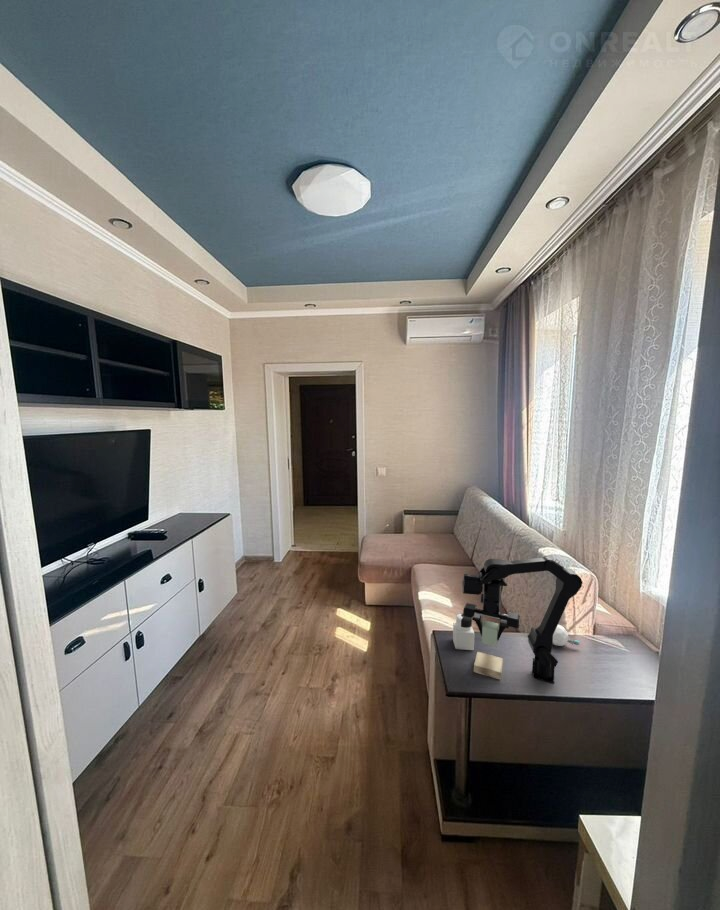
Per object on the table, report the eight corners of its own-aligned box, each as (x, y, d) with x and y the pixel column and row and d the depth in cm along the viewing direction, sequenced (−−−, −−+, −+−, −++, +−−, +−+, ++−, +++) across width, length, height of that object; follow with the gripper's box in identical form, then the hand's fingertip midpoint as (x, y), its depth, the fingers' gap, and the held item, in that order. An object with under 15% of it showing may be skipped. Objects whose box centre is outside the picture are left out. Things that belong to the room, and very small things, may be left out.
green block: (497, 639, 133) (498, 623, 133) (496, 646, 129) (497, 630, 129) (483, 636, 136) (484, 620, 135) (481, 642, 131) (482, 626, 131)
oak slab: (502, 666, 135) (503, 658, 135) (500, 680, 127) (500, 672, 127) (477, 659, 139) (477, 651, 139) (473, 673, 131) (474, 664, 130)
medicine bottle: (470, 640, 151) (471, 612, 150) (473, 650, 144) (475, 621, 143) (452, 639, 151) (453, 611, 151) (455, 649, 144) (456, 619, 144)
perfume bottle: (545, 626, 157) (578, 637, 151) (543, 644, 151) (576, 656, 146) (548, 617, 152) (582, 628, 146) (546, 635, 146) (581, 648, 141)
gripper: (521, 592, 134) (519, 634, 135) (468, 582, 143) (467, 621, 143) (519, 605, 124) (517, 649, 125) (463, 593, 133) (462, 635, 133)
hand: (490, 638), depth 132 cm, fingers closed on green block, 5 cm apart
